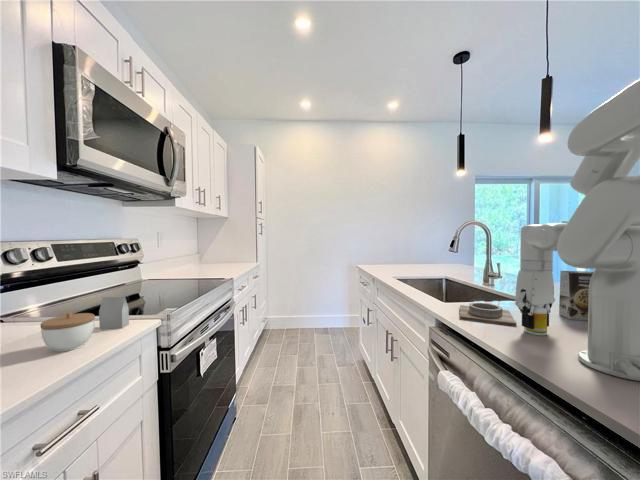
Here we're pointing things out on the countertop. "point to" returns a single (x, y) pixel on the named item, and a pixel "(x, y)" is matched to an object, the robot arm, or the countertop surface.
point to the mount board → (486, 314)
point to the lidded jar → (67, 331)
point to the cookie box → (574, 294)
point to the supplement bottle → (538, 320)
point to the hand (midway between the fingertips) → (535, 325)
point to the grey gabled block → (113, 313)
